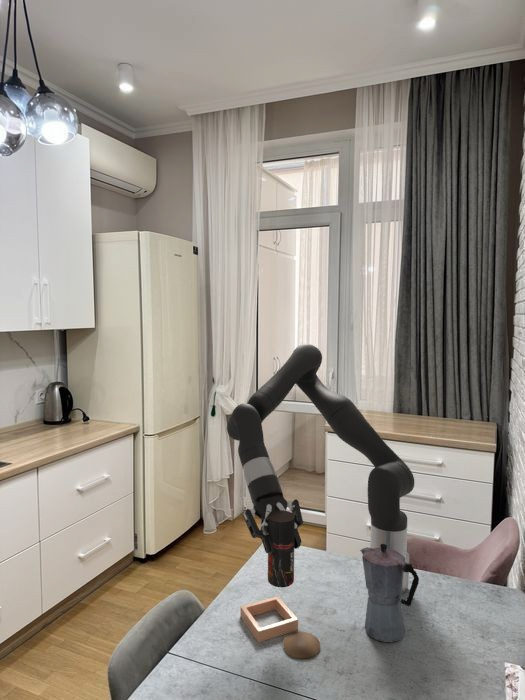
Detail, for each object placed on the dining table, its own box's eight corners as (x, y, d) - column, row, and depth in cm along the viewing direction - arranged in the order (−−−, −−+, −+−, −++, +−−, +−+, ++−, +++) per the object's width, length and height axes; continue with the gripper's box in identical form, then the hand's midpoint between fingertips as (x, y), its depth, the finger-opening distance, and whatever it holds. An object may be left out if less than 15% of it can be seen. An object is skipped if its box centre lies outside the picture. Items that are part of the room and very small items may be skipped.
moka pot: (369, 607, 118) (371, 529, 117) (428, 638, 107) (431, 551, 106) (346, 625, 112) (348, 541, 110) (406, 659, 101) (410, 567, 99)
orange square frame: (277, 605, 119) (277, 596, 118) (298, 629, 110) (298, 619, 109) (240, 616, 114) (240, 606, 114) (258, 642, 105) (258, 631, 105)
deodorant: (292, 588, 105) (292, 523, 104) (265, 585, 106) (265, 520, 105) (295, 574, 111) (296, 511, 109) (270, 570, 112) (270, 509, 111)
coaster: (307, 630, 110) (307, 627, 110) (327, 652, 102) (327, 649, 102) (276, 640, 106) (276, 637, 106) (294, 663, 99) (294, 661, 99)
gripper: (282, 482, 121) (306, 549, 112) (230, 492, 115) (250, 563, 106) (293, 469, 116) (319, 537, 107) (238, 478, 110) (260, 552, 100)
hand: (284, 550), depth 106 cm, fingers closed on deodorant, 6 cm apart
